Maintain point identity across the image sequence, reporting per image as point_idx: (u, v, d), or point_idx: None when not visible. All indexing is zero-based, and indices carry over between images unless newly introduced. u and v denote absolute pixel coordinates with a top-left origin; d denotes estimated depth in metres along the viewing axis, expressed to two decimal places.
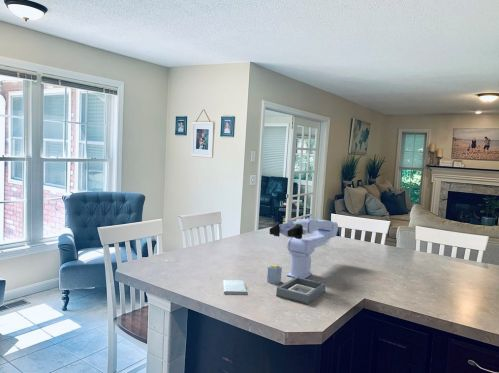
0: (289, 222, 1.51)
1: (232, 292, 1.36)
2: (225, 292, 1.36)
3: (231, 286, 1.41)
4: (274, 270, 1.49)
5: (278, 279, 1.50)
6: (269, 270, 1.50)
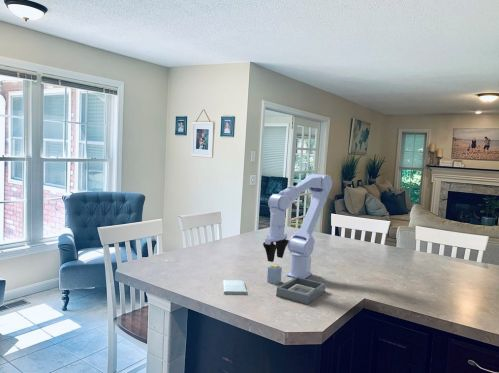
0: None
1: (232, 292, 1.36)
2: (225, 292, 1.36)
3: (231, 286, 1.41)
4: (274, 270, 1.49)
5: (278, 279, 1.50)
6: (269, 270, 1.50)
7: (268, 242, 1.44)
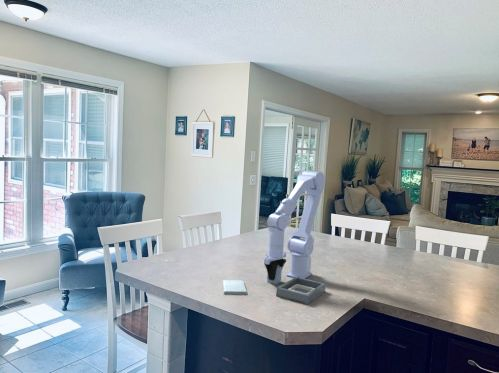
0: None
1: (232, 292, 1.36)
2: (225, 292, 1.36)
3: (230, 286, 1.41)
4: None
5: (278, 279, 1.50)
6: None
7: (267, 262, 1.45)
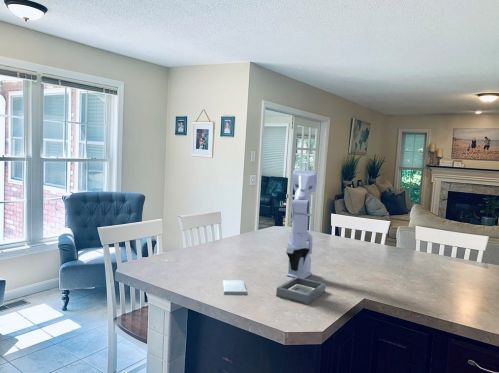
0: None
1: (232, 292, 1.36)
2: (225, 292, 1.36)
3: (230, 286, 1.41)
4: None
5: (300, 270, 1.40)
6: None
7: (290, 251, 1.35)
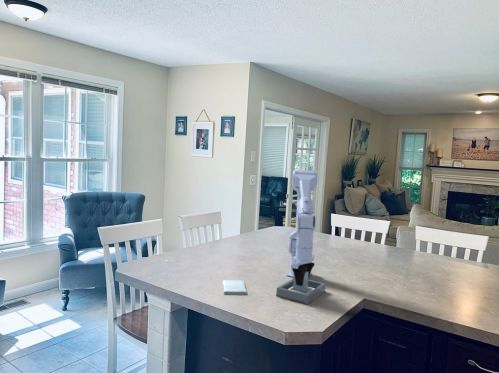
0: None
1: (232, 292, 1.36)
2: (225, 292, 1.36)
3: (230, 286, 1.41)
4: None
5: (305, 285, 1.39)
6: None
7: (295, 266, 1.33)
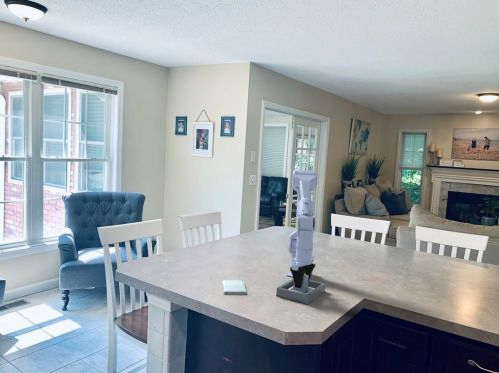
0: None
1: (232, 292, 1.36)
2: (225, 292, 1.36)
3: (230, 286, 1.41)
4: None
5: (305, 289, 1.39)
6: None
7: (295, 268, 1.33)
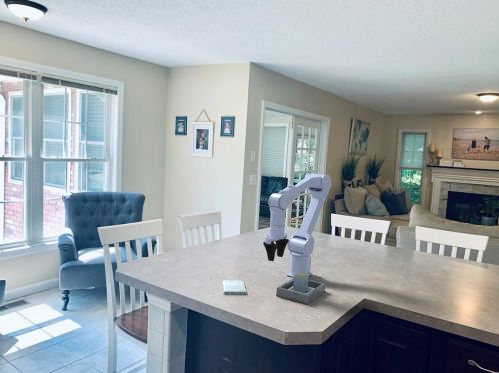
0: None
1: (232, 292, 1.36)
2: (225, 292, 1.36)
3: (230, 286, 1.41)
4: (301, 279, 1.38)
5: (305, 289, 1.39)
6: (295, 279, 1.39)
7: (268, 241, 1.43)
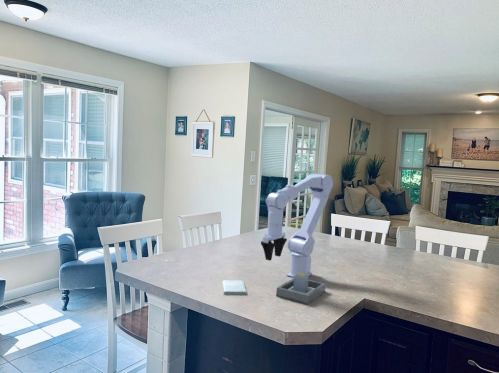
0: None
1: (232, 292, 1.36)
2: (225, 292, 1.36)
3: (230, 286, 1.41)
4: (301, 279, 1.38)
5: (305, 289, 1.39)
6: (295, 279, 1.39)
7: (266, 241, 1.44)
